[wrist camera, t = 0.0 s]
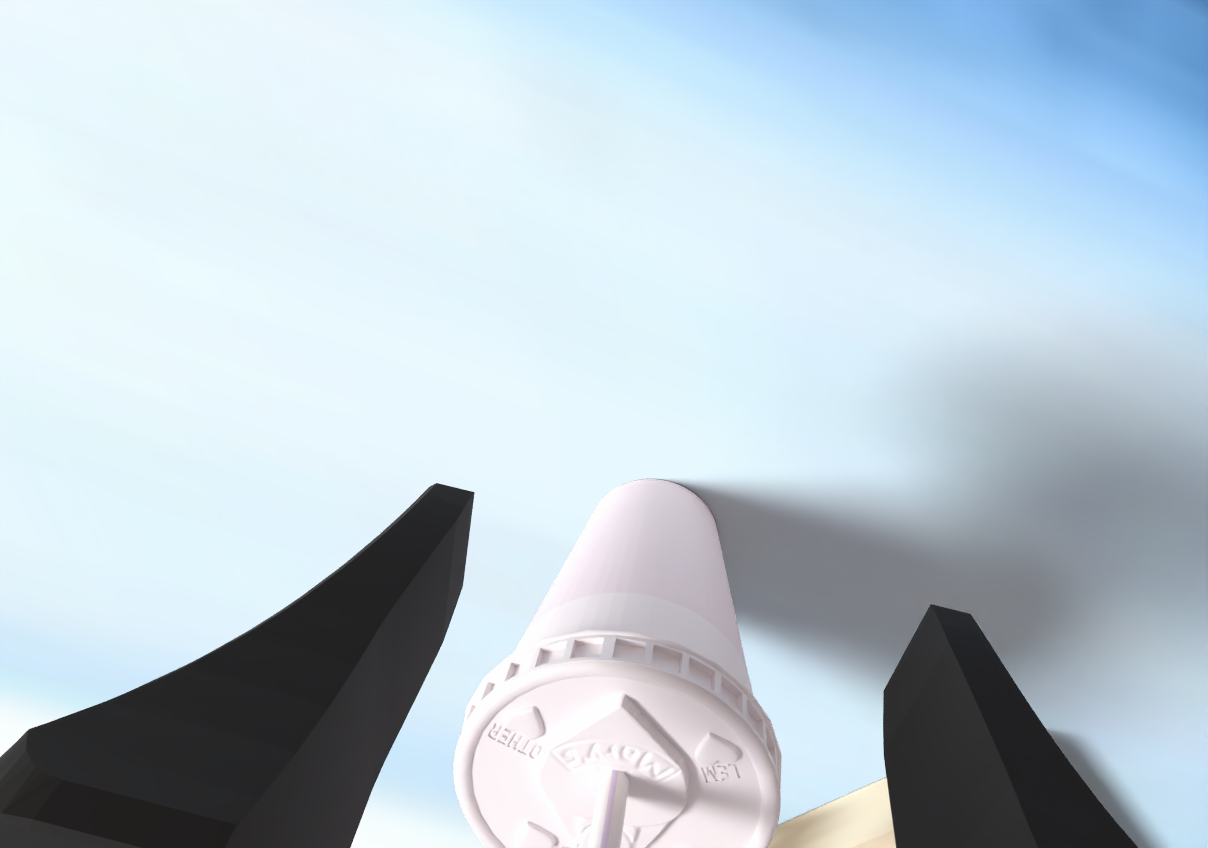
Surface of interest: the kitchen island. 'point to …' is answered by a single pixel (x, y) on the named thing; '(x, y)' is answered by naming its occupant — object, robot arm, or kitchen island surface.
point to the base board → (843, 823)
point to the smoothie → (625, 698)
